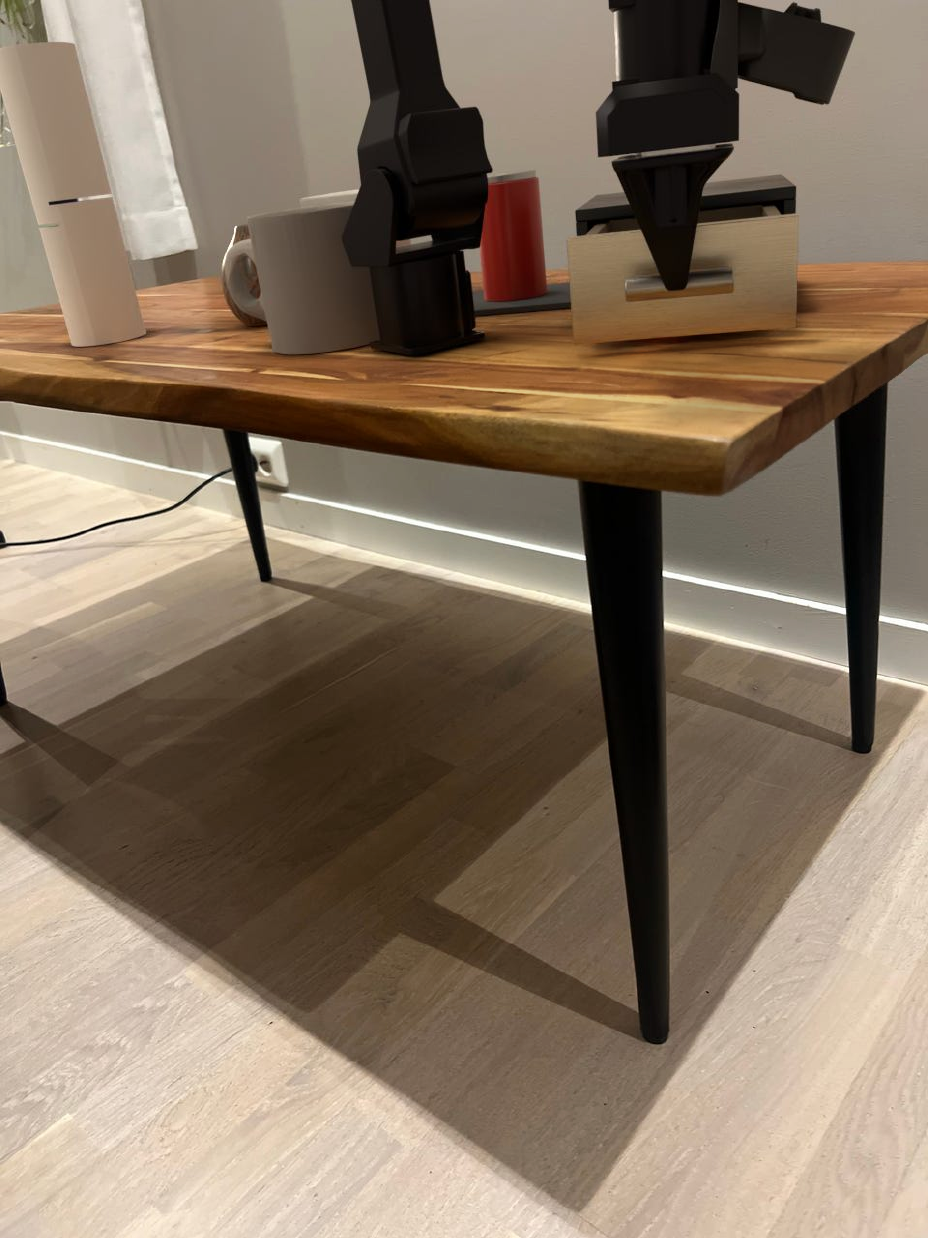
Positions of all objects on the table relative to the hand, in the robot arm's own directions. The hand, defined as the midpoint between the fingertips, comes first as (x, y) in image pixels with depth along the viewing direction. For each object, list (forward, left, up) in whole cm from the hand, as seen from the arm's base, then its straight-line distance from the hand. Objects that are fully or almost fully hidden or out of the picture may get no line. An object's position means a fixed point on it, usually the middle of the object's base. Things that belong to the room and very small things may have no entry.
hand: (676, 289), depth 55 cm
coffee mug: (-5, +35, -5) cm, 36 cm away
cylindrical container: (-14, +62, -5) cm, 64 cm away
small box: (+6, +45, -5) cm, 46 cm away
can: (+14, +32, -4) cm, 35 cm away
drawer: (+7, +7, -4) cm, 11 cm away
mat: (+14, +32, -5) cm, 35 cm away
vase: (-2, +51, -5) cm, 51 cm away
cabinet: (+17, +15, -5) cm, 23 cm away
